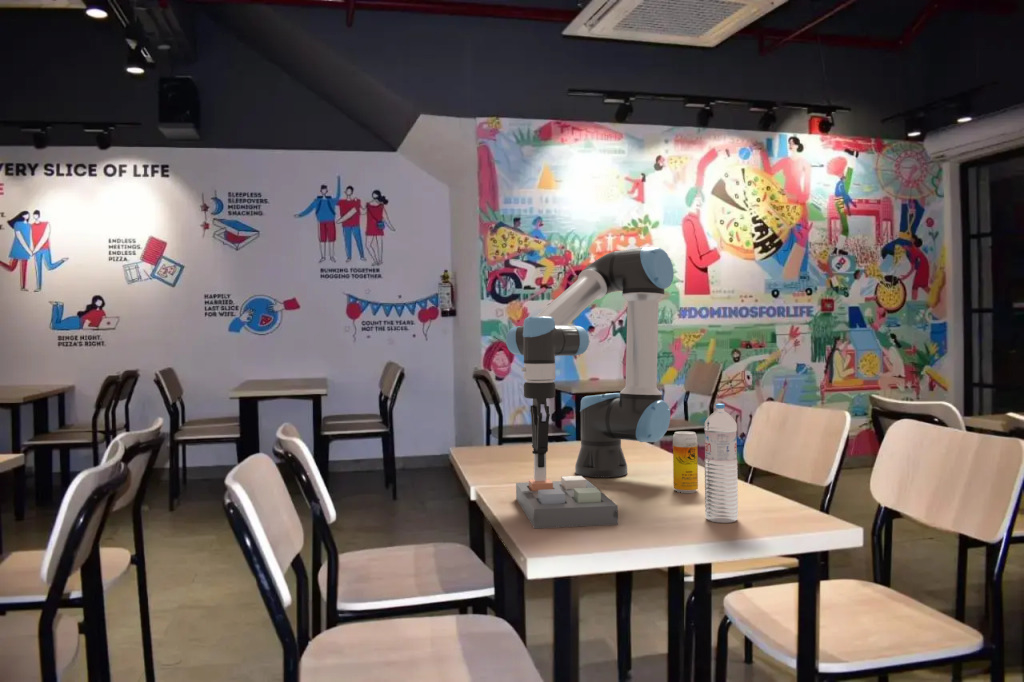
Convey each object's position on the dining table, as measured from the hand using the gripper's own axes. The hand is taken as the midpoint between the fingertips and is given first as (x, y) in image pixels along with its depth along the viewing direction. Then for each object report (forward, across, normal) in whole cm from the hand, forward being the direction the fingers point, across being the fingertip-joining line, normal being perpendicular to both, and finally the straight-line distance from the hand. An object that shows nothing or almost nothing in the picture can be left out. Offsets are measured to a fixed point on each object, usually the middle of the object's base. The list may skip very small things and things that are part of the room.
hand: (540, 480), depth 172 cm
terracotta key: (+3, 0, 0) cm, 3 cm away
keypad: (+6, +7, +4) cm, 10 cm away
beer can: (+6, -8, +39) cm, 40 cm away
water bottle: (+6, +21, +36) cm, 42 cm away
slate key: (+3, +14, 0) cm, 14 cm away
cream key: (+3, 0, +8) cm, 9 cm away
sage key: (+3, +14, +8) cm, 16 cm away
